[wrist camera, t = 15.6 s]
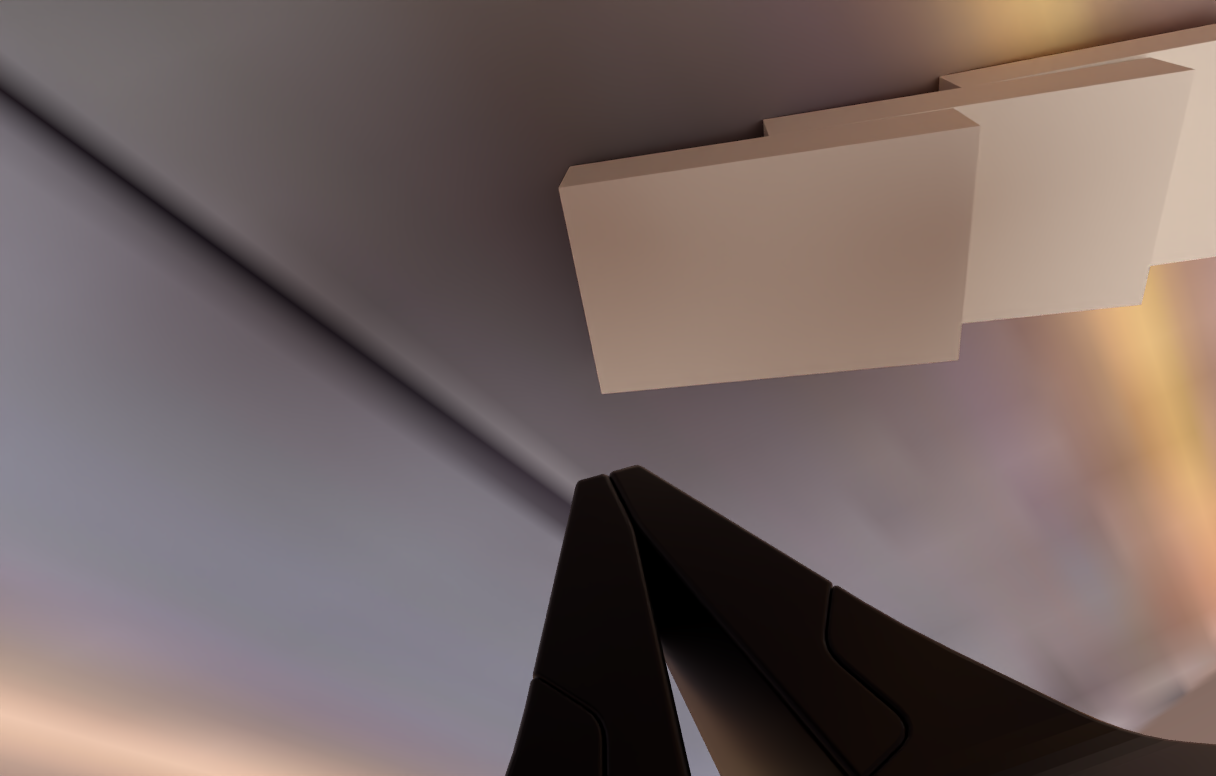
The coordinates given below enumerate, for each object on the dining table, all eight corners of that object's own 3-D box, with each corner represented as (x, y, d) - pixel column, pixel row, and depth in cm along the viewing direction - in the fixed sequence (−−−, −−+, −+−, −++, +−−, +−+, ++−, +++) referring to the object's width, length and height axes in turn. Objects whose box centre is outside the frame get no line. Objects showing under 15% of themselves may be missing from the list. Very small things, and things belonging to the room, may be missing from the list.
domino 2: (769, 135, 15) (1195, 69, 14) (762, 119, 16) (1150, 57, 15) (781, 342, 18) (1141, 304, 16) (775, 313, 19) (1106, 276, 18)
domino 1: (558, 187, 14) (980, 126, 13) (569, 166, 16) (953, 108, 14) (601, 393, 17) (958, 360, 16) (608, 360, 18) (937, 326, 17)
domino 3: (962, 87, 16) (1384, 8, 14) (938, 76, 17) (1322, 3, 16) (951, 293, 18) (1309, 243, 17) (931, 270, 20) (1262, 220, 18)
